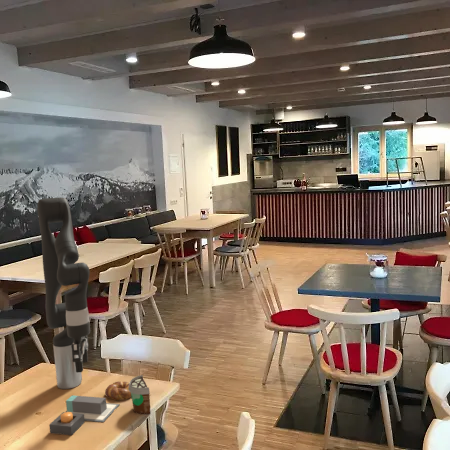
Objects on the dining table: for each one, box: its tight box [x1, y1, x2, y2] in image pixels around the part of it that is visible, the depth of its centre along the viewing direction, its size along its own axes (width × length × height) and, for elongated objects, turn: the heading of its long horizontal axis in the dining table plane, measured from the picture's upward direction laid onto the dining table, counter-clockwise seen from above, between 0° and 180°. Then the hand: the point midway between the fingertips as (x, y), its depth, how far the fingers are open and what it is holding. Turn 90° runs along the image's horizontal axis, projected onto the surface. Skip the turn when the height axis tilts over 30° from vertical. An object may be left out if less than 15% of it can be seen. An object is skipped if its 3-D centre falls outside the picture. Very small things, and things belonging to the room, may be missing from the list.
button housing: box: [48, 411, 86, 436], centre depth 162 cm, size 8×8×3 cm
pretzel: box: [104, 381, 132, 401], centre depth 184 cm, size 12×11×4 cm
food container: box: [128, 374, 151, 415], centre depth 171 cm, size 12×6×10 cm, turn 21°
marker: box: [65, 395, 107, 414], centre depth 172 cm, size 13×4×4 cm, turn 76°
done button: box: [61, 411, 73, 423], centre depth 162 cm, size 4×4×2 cm
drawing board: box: [65, 402, 120, 423], centre depth 172 cm, size 12×17×1 cm
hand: (82, 366), depth 168 cm, fingers open, 8 cm apart
